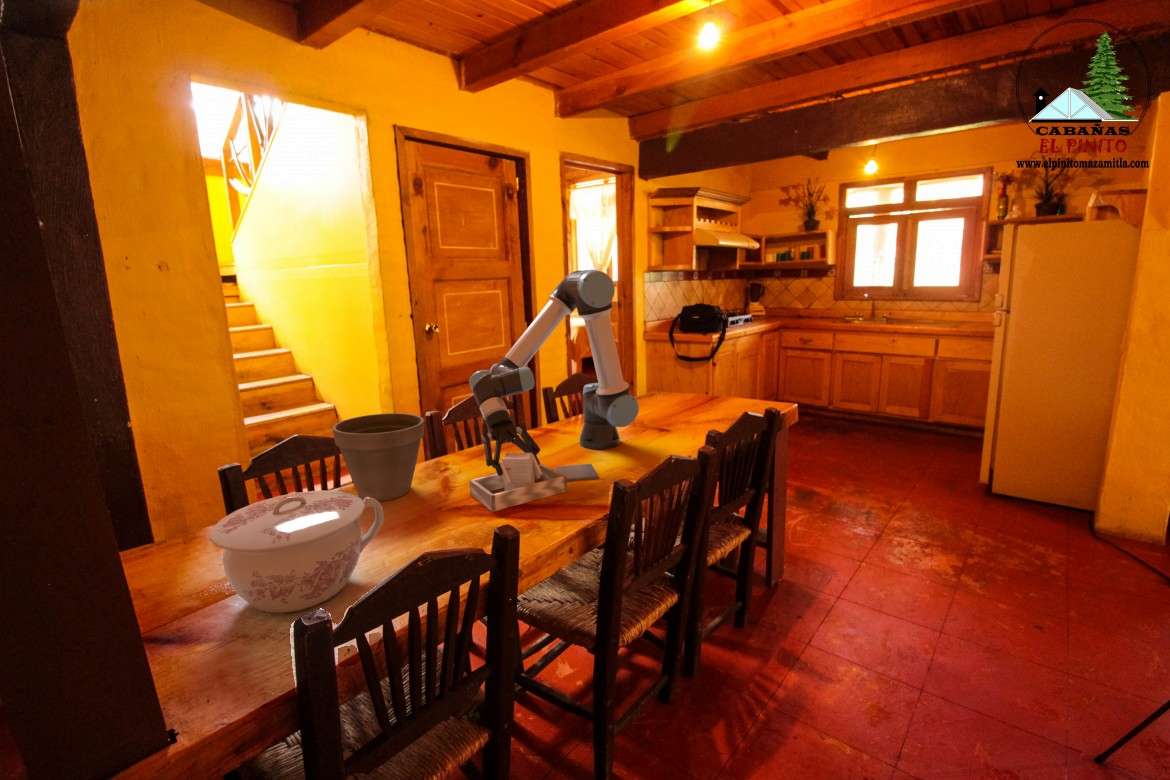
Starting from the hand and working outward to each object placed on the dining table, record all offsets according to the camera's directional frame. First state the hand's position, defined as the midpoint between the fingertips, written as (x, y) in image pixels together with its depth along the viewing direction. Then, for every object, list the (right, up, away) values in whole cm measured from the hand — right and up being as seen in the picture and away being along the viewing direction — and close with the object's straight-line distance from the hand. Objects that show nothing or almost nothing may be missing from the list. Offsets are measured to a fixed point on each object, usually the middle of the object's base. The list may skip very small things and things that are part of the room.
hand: (524, 480), depth 159 cm
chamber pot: (-40, -16, -46) cm, 63 cm away
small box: (-2, -4, +3) cm, 5 cm away
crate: (-2, -5, +3) cm, 6 cm away
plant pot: (-42, -5, +7) cm, 43 cm away
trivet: (+15, -1, +19) cm, 24 cm away
